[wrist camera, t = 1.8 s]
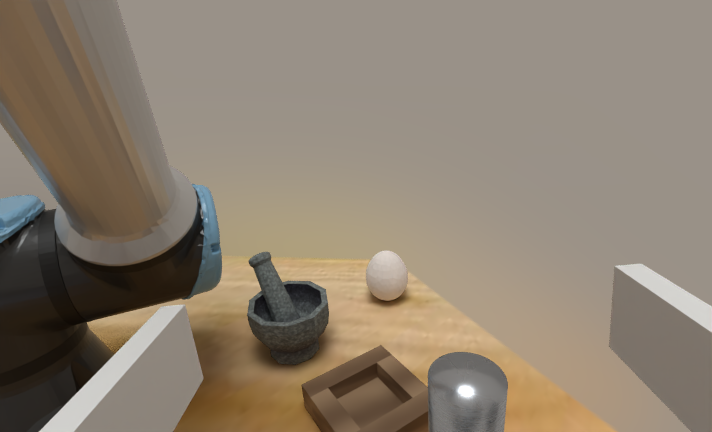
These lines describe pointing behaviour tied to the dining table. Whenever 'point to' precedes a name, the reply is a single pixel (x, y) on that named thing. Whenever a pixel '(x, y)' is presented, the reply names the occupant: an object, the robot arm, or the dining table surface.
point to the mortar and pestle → (286, 313)
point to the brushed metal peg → (466, 394)
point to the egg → (386, 276)
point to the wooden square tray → (368, 396)
